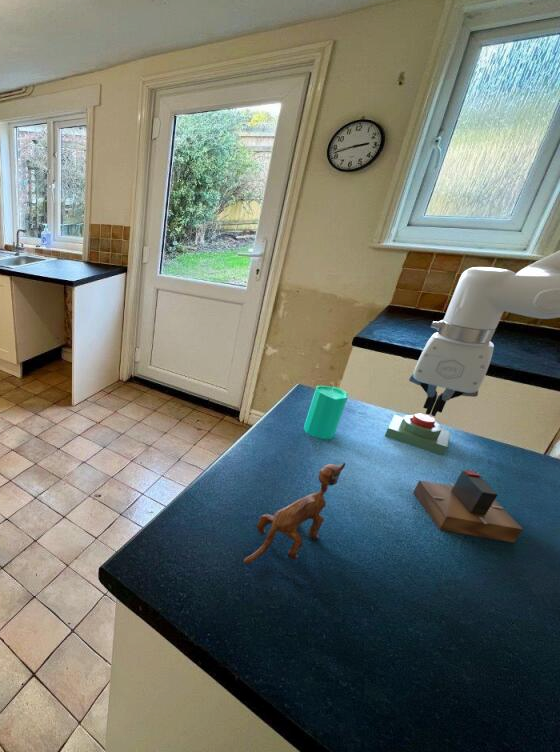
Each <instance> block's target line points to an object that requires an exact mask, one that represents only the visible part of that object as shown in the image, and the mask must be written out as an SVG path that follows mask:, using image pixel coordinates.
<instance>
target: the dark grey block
mask: <svg viewBox="0 0 560 752" xmlns="http://www.w3.org/2000/svg"><path fill="white" fill-rule="evenodd" d="M453 485H454V487H453V489H452V492H453V493H454V494H455V495H456V497H457V498H458V499H459V500H460V501H461V502H462V504H463V505H464V506H465V507H466V508H467V509H468V511H469V512H470V513H473V514H479V515H486V513H487V512H488V510H489V508H490V507H491V505H492V503H493V502H494V500H496V499H497V497H498V496H499V495H498V493H497V492H496V491H495V490H494V489H493V488H492V487H491V486H490V485H489V484H488V483H487V482H486V481H485V480H484V479H483V478H482V477H481V475H480V473H478V471H472V470H467V469H466V470H462V471H461V473H460V474H459V475H458V477H457V480H456V482H455V483H454V484H453Z"/></svg>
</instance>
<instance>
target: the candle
mask: <svg viewBox="0 0 560 752" xmlns="http://www.w3.org/2000/svg"><path fill="white" fill-rule="evenodd" d="M332 385H333V386H328V385H316V387H315V390H314V393H313V397H312V400H311V403H310V406H309V409H308V413H307V415H306V419H305V422H304V426H303V431H305V433H307V434H308V435H309V436H312V437H313V438H318V439H321V440H330V439H332V438H334V437H335V434H336V431H337V428H338V425H339V422H340V420H341V417H342V414H343V411H344V408H345V406H346V403H347V401H348V396H349V393H348V392H347V391H345V390H344V389H342V388H339V387H336V386H335V384H332Z"/></svg>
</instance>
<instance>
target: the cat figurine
mask: <svg viewBox="0 0 560 752" xmlns="http://www.w3.org/2000/svg"><path fill="white" fill-rule="evenodd" d="M345 467H346V463H345V462H344V463H342V464H341V465H340V466H339V465H338V464H334V463H327V464H325V465H323V467H322V468H321V469H320V470H319V474H318V476H317V478H318V481H319V483H320V490H319V491H318V492H314V493H310V494H308V495H307V496H305V497H302V498H300V499H297V500H294V501H293V503H290V504H289V505H287V506H285V507H283V508H281V509H280V508H279V509H278V510H277V511H275V513H274V514H273V515H272V514H271V513H270V514H269V513H267V514H262V515H261V516H260V518H259V520H258V522H257V524H256V529H257V531H258V533H259V535H260V536H261V537H262V536H264V535H266V533H267V530H265V528H266V527H267V526H268V525H270V524H271V528H269V532H268V534H267V537H266V538H265V540H264V542H263V543H262V545H261V546H260V547H258V549H257V550H255V551H254V552H253V553H252V554H250V555H249V556H247V557H245V558H244V559H243V564H245V565H247V564H250V563H252V562H253V561H255V560H256V559H258V558H260V557H261V556H262V555H263V554H264V553H265V552H266V551H267V550H268V549H269V547H270V546H271V544H272V543H273V542H274V539H275V537H276V534H277V532H280V533H282V534H284V535H285V536H287V537H288V538H290V539H291V540H292V541H293V543H292V545H291V547H290V548H289V550H288V552H287V557H288V558H289V559H290V560H293V561H296V560H297V559H298V558H299V555H297V552H298V551H299V550H300V549H301V548H302V546H303V542H304V541H303V537H302V535H301V534H300V533H299V530H298V529H299V527H300V526H301V525H302V524H304V523H305V522H306V521H308V520H312V524H311V526H310V528H309V531H308V537H309V538H310V539H312V540H317V539H319V538H320V536H319V535H318V533H319V530H320V528H321V527H322V524H323V522H324V521H325V518H324V517H323V516H322V515H321V514H320V513H321V512H322V511H323V509H324V508H325V507H326V503H327V502H326V500H325V497H324V495H325V493H326V492H327V491H328V487H330V486H334V485H336V484H338V480H339V477H340V476H341V473H342V470H344V469H345Z"/></svg>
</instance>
